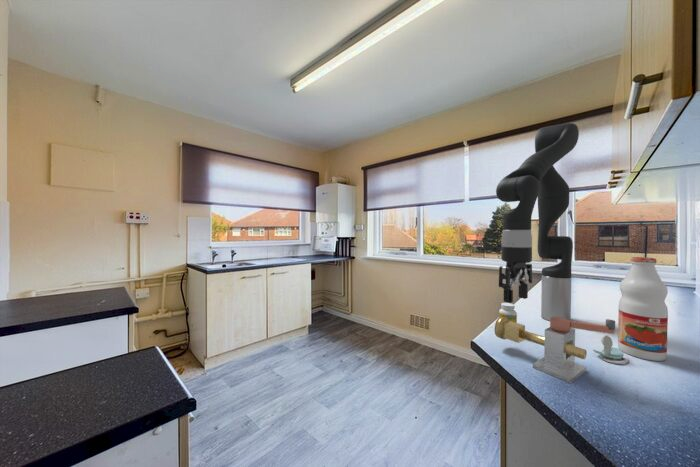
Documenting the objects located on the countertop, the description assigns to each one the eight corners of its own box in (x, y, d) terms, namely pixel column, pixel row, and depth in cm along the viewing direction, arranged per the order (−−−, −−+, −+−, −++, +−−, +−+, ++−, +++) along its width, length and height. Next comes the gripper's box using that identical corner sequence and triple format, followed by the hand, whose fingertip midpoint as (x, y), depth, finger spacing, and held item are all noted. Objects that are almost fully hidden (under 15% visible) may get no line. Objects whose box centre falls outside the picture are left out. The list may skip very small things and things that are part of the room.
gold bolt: (505, 334, 81) (505, 314, 81) (589, 363, 64) (589, 338, 64) (494, 339, 78) (494, 318, 77) (579, 371, 60) (579, 344, 60)
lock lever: (611, 333, 63) (611, 318, 63) (618, 340, 59) (618, 323, 59) (548, 324, 69) (549, 310, 69) (551, 329, 65) (551, 315, 65)
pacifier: (635, 364, 69) (609, 352, 75) (636, 342, 69) (610, 332, 74) (613, 367, 68) (588, 355, 74) (614, 344, 67) (589, 334, 73)
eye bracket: (549, 357, 72) (550, 320, 72) (586, 370, 66) (587, 330, 65) (532, 367, 67) (533, 328, 67) (570, 383, 60) (571, 339, 60)
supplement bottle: (508, 327, 94) (509, 301, 94) (520, 333, 88) (520, 306, 88) (495, 328, 93) (495, 302, 93) (506, 334, 88) (506, 307, 87)
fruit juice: (653, 349, 77) (655, 256, 76) (676, 365, 68) (679, 260, 67) (611, 343, 81) (613, 255, 80) (628, 357, 72) (630, 258, 71)
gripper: (517, 247, 68) (517, 307, 68) (542, 245, 75) (541, 299, 76) (490, 245, 74) (489, 300, 75) (515, 243, 82) (514, 294, 82)
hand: (515, 300), depth 75 cm, fingers open, 8 cm apart
